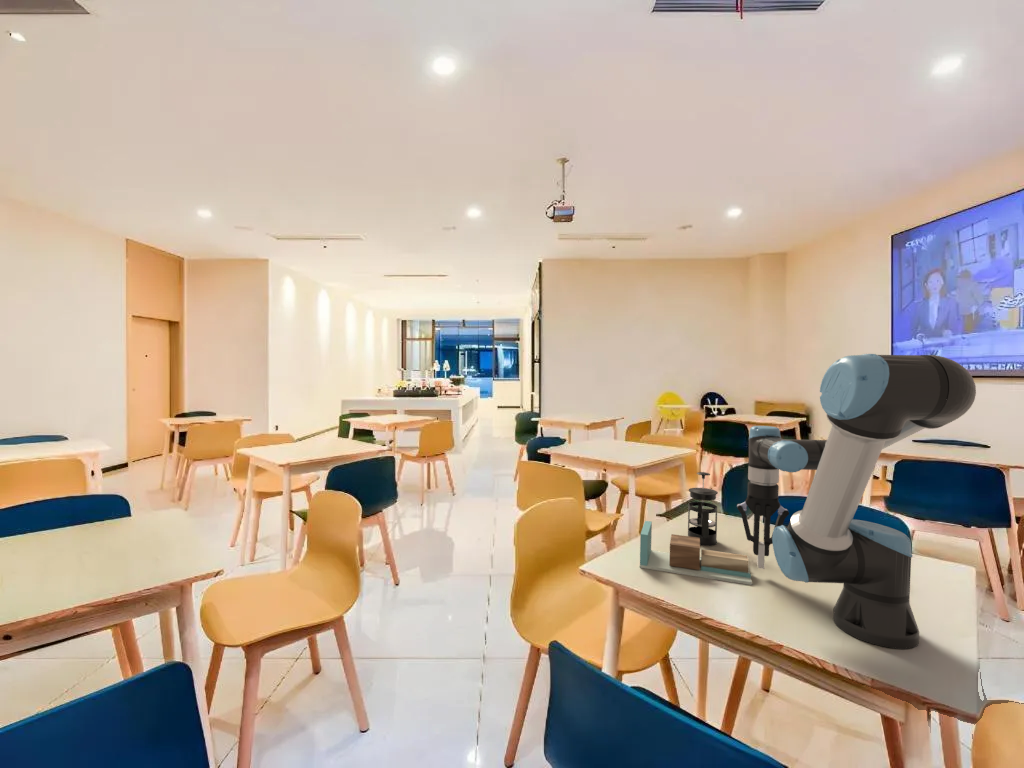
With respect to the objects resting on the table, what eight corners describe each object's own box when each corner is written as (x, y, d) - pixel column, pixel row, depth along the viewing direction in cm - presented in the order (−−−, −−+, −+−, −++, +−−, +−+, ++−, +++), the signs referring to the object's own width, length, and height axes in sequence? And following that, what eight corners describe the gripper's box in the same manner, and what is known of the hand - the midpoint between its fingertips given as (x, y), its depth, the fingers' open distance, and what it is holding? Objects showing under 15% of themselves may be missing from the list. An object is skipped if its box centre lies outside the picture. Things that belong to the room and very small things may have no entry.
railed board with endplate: (751, 585, 127) (752, 548, 127) (639, 567, 137) (640, 534, 137) (747, 566, 139) (747, 533, 139) (644, 551, 149) (645, 520, 149)
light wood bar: (748, 575, 131) (748, 560, 131) (701, 568, 136) (701, 554, 135) (746, 569, 135) (747, 555, 135) (701, 562, 139) (701, 549, 139)
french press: (685, 534, 166) (686, 468, 165) (713, 536, 164) (715, 470, 163) (689, 546, 154) (691, 476, 154) (720, 549, 152) (722, 477, 152)
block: (699, 570, 133) (699, 548, 133) (669, 565, 136) (669, 544, 136) (699, 558, 142) (699, 537, 142) (671, 554, 145) (671, 534, 144)
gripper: (787, 481, 132) (785, 565, 133) (736, 477, 137) (733, 557, 138) (792, 487, 125) (789, 576, 126) (737, 482, 130) (735, 567, 131)
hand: (760, 566), depth 132 cm, fingers closed
